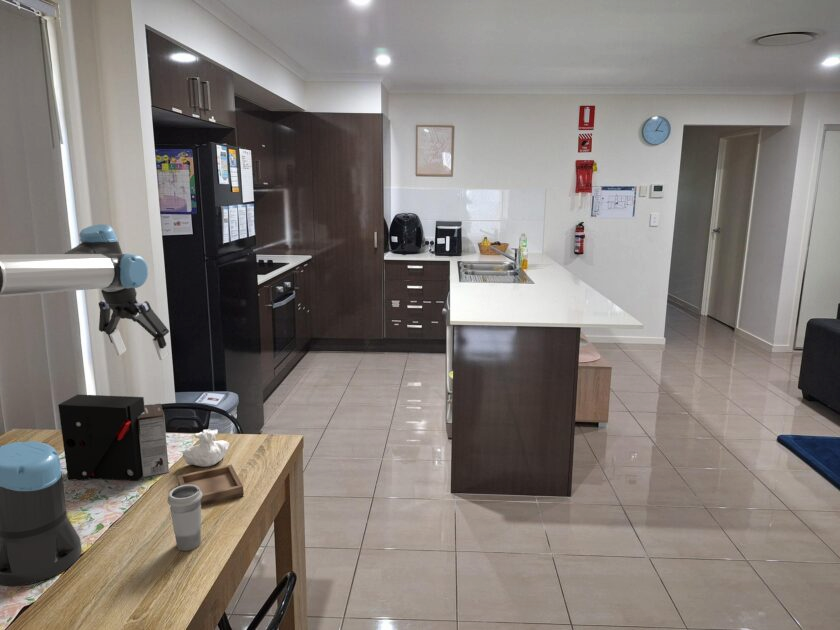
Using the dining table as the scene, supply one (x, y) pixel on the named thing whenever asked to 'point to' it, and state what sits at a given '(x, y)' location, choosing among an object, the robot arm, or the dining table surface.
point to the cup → (186, 515)
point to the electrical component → (102, 437)
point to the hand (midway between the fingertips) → (142, 355)
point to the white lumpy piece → (206, 450)
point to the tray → (214, 484)
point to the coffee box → (153, 440)
